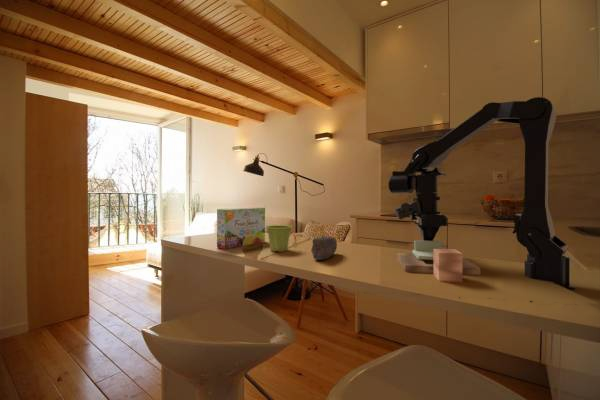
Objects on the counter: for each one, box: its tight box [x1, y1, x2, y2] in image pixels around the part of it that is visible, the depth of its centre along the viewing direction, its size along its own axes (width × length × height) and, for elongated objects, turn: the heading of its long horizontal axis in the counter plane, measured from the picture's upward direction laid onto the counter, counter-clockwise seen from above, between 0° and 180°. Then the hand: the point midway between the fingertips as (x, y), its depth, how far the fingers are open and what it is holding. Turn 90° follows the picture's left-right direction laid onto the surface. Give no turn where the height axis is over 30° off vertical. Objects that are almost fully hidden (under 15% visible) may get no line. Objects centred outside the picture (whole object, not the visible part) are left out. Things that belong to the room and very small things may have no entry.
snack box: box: [216, 206, 266, 250], centre depth 115 cm, size 21×6×15 cm, turn 143°
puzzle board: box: [396, 252, 481, 276], centre depth 72 cm, size 16×14×3 cm
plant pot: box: [265, 224, 293, 252], centre depth 102 cm, size 9×9×9 cm
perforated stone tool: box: [310, 235, 338, 261], centre depth 90 cm, size 15×5×7 cm, turn 149°
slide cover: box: [411, 239, 444, 260], centre depth 74 cm, size 8×8×4 cm
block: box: [433, 248, 463, 283], centre depth 61 cm, size 4×4×7 cm
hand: (426, 248), depth 80 cm, fingers closed
